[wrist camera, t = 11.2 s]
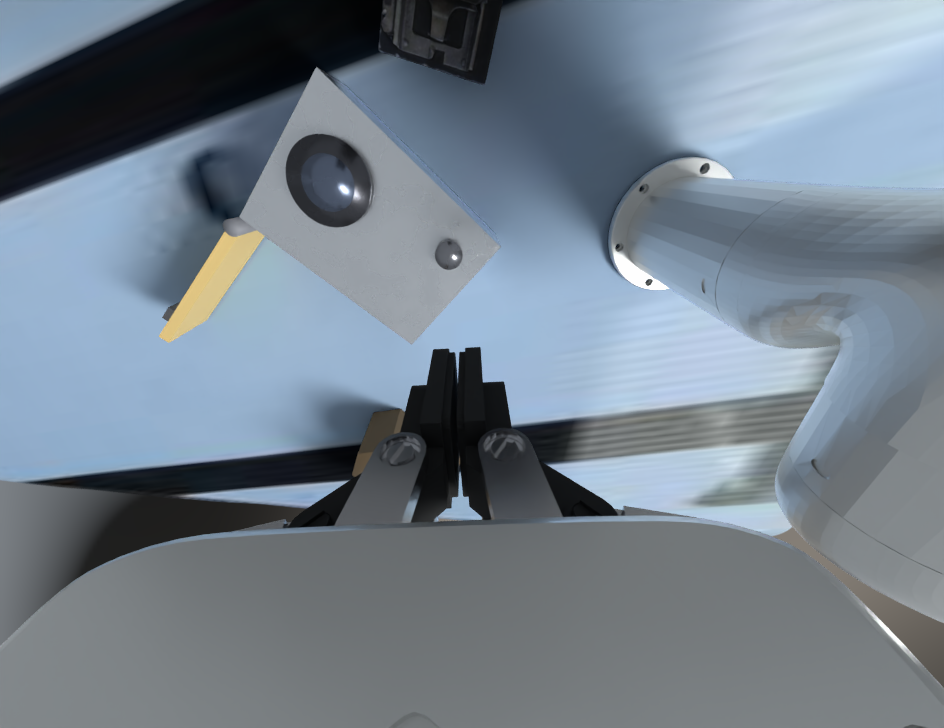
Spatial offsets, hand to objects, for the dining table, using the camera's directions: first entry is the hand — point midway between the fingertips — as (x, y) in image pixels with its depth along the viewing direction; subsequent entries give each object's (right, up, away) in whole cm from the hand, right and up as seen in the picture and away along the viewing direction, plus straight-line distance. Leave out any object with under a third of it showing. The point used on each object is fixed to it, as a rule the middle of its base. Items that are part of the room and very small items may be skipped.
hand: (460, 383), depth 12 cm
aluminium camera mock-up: (-8, +15, +22) cm, 28 cm away
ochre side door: (-26, +11, +24) cm, 37 cm away
